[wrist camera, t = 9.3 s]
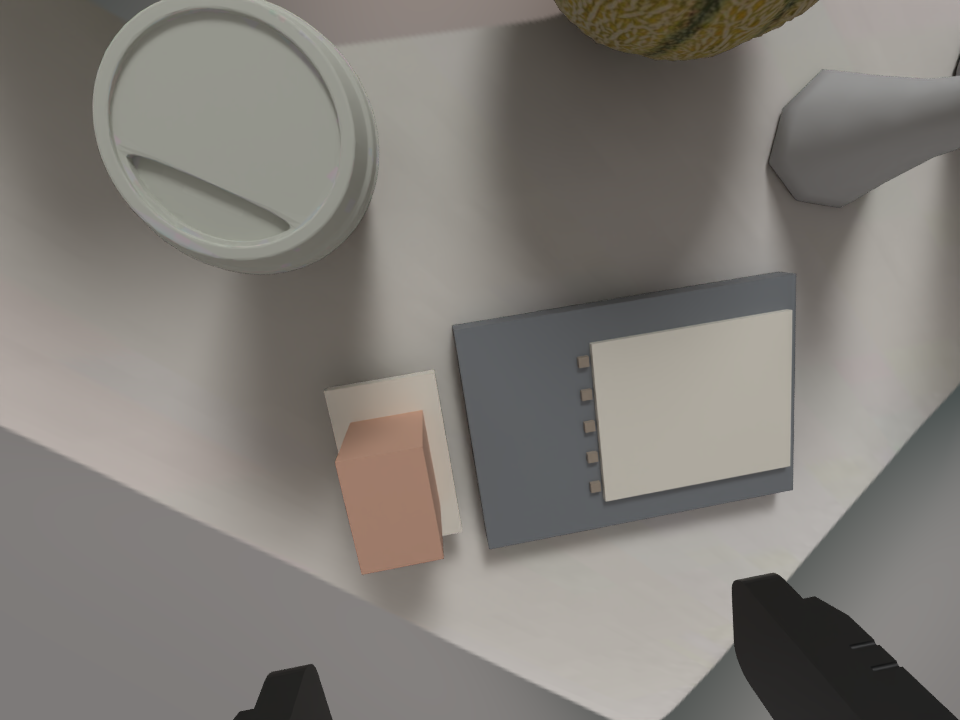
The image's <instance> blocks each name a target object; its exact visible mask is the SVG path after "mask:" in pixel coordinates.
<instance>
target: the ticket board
mask: <svg viewBox="0 0 960 720" xmlns="http://www.w3.org/2000/svg"><path fill="white" fill-rule="evenodd" d="M795 319H796V274H794V273H785V272H774V273H768V274H762V275H756V276H750V277H744V278H738V279H732V280H726V281H720V282H713V283H707V284H701V285H695V286H689V287H683V288H677V289H671V290H665V291H659V292H653V293H647V294H640V295H634V296H628V297H622V298H616V299H610V300H604V301H598V302H592V303H586V304H580V305H573V306H567V307H561V308H555V309H549V310H543V311H537V312H531V313H525V314H519V315H513V316H507V317H500V318H494V319H488V320H482V321H476V322H470V323H464V324H458V325H452V327H453V333H454V339H455V345H456V351H457V358H458V364H459V370H460V376H461V382H462V388H463V394H464V401H465V407H466V413H467V419H468V425H469V431H470V437H471V444H472V450H473V456H474V462H475V468H476V474H477V480H478V487H479V493H480V499H481V505H482V511H483V517H484V523H485V530H486V536H487V540H488V545H489V549H494V548H499V547H504V546H509V545H514V544H519V543H524V542H530V541H535V540H540V539H545V538H550V537H555V536H560V535H565V534H570V533H575V532H581V531H586V530H591V529H596V528H601V527H606V526H611V525H616V524H621V523H626V522H632V521H637V520H642V519H647V518H652V517H657V516H662V515H667V514H672V513H677V512H683V511H688V510H693V509H698V508H703V507H708V506H713V505H718V504H723V503H729V502H734V501H739V500H744V499H749V498H754V497H759V496H764V495H769V494H774V493H780V492H785V491H790V490H793V449H794V384H795Z"/></svg>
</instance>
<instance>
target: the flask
mask: <svg viewBox="0 0 960 720" xmlns="http://www.w3.org/2000/svg"><path fill="white" fill-rule="evenodd" d="M959 148H960V76H952V77H942V78H932V79H922V78H908V77H894V76H880V75H870V74H862V73H853V72H845V71H837V70H824V69H822V70H821V71H820V72H819V73H818V74H817V75H816V76H815V77H814V78H813V79H812V80H811V81H810V82H809V83H808V84H807V85H806V86H805V87H804V88H803V89H802V90H801V91H800V92H799V93H798V94H797V95H796V96H795V97H794V98H793V99H792V100H791V101H790V102H789V103H788V104H787V105H786V106H785V107H784V108H783V109H782V113H781V117H780V121H779V125H778V129H777V133H776V137H775V140H774V144H773V148H772V152H771V156H770V160H769V164H770V165H771V166H772V168H773V169H774V171H775V172H776V173H777V175H778V176H779V177H780V179H781V180H782V181H783V183H784V184H785V185H786V187H787V188H788V190H789V191H790V192H791V194H792V195H793V196H794V198H795V199H796V200H798V201H803V202H809V203H815V204H821V205H826V206H832V207H838V208H841V207H842V206H844V205H846V204H848V203H850V202H852V201H854V200H855V199H857V198H859V197H861V196H862V195H864V194H866V193H868V192H869V191H871V190H873V189H875V188H876V187H878V186H880V185H882V184H883V183H885V182H887V181H889V180H891V179H893V178H895V177H897V176H899V175H900V174H902V173H904V172H906V171H908V170H910V169H912V168H914V167H916V166H918V165H920V164H922V163H924V162H925V161H927V160H929V159H931V158H933V157H936V156H939V155H942V154H945V153H948V152H950V151H953V150H956V149H959Z"/></svg>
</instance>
